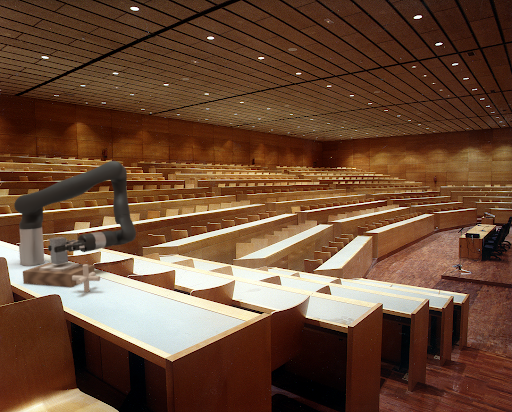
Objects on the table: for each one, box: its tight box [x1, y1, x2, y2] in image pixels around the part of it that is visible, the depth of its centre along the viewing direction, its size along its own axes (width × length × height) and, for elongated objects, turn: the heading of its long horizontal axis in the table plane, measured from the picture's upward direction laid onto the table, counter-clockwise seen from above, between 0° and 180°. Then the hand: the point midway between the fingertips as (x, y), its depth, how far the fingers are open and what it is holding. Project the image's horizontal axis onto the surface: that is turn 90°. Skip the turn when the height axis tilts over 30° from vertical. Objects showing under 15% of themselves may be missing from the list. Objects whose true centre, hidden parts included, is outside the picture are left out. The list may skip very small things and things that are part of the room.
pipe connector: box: [72, 264, 101, 293], centre depth 138 cm, size 10×10×10 cm
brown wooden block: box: [22, 261, 96, 288], centre depth 153 cm, size 22×14×6 cm, turn 77°
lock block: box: [49, 236, 69, 264], centre depth 152 cm, size 4×4×10 cm
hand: (51, 249), depth 150 cm, fingers closed on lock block, 4 cm apart
